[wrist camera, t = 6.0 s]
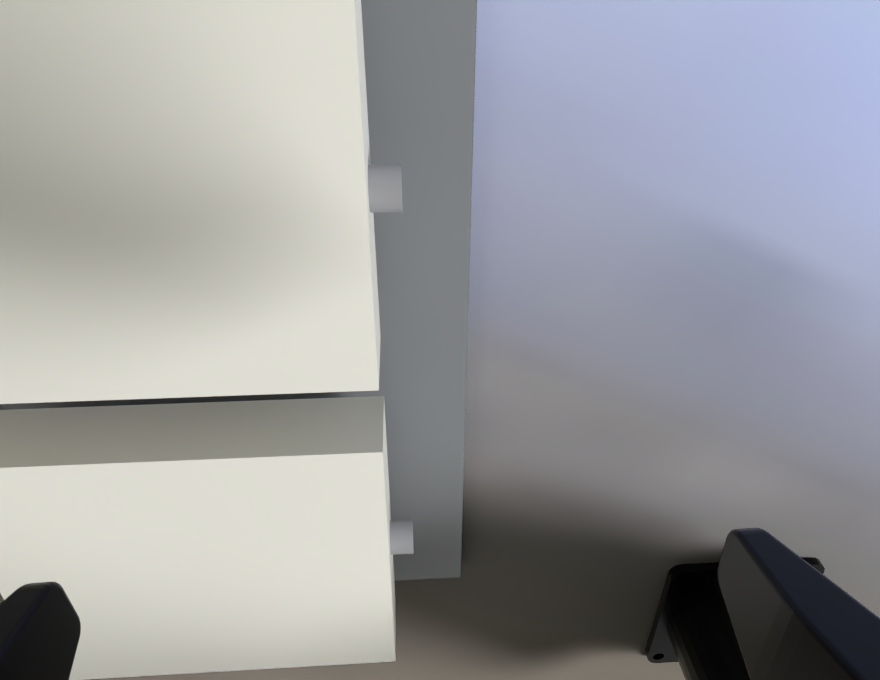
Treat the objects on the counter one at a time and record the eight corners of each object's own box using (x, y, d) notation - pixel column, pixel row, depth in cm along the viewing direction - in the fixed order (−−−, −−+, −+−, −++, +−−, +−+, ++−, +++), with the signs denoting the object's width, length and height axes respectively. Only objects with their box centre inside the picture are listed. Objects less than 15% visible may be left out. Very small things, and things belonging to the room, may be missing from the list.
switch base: (457, 552, 26) (460, 581, 25) (51, 572, 25) (34, 604, 24) (473, -113, 14) (481, -118, 13) (-294, -118, 13) (-361, -123, 12)
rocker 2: (415, 596, 23) (416, 659, 21) (60, 615, 22) (26, 682, 20) (408, 395, 18) (410, 451, 16) (-41, 411, 18) (-99, 471, 15)
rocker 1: (406, 335, 17) (408, 389, 15) (-74, 350, 16) (-138, 409, 14) (394, -60, 12) (393, -59, 10) (-288, -61, 12) (-432, -59, 10)
